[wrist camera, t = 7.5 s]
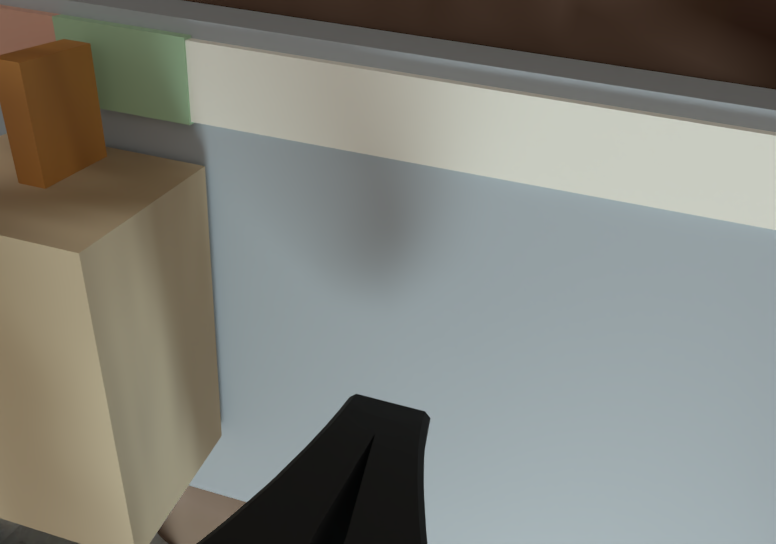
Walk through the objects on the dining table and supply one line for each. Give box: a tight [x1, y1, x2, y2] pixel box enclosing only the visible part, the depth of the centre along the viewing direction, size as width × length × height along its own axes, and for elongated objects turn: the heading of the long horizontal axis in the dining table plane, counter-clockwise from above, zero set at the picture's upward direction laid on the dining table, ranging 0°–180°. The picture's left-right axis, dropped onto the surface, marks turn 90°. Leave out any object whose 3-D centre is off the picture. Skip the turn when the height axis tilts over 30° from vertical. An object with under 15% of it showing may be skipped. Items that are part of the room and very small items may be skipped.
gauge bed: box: [0, 0, 776, 544], centre depth 11 cm, size 23×12×7 cm, turn 84°
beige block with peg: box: [0, 39, 222, 544], centre depth 12 cm, size 4×9×4 cm, turn 174°
